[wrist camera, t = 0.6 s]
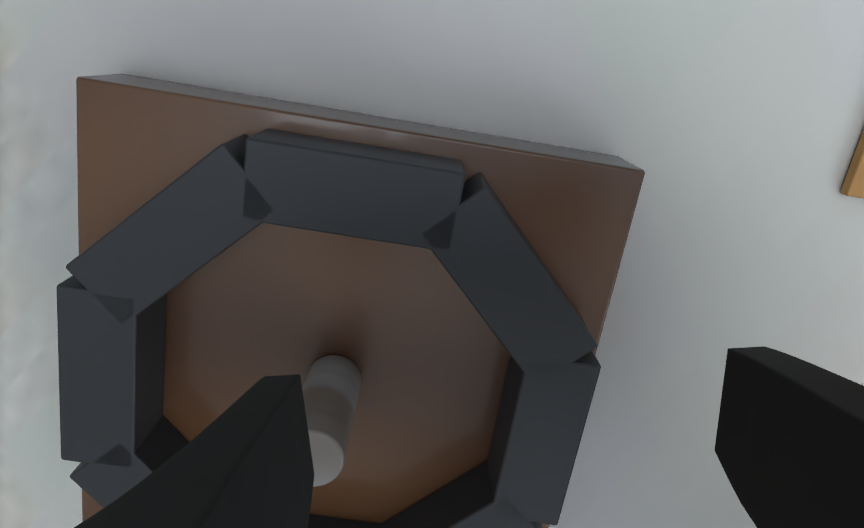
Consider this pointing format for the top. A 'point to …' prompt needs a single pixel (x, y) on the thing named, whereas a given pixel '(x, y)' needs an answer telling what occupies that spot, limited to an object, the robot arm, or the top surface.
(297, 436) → the robot arm
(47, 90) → the top surface
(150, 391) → the headband ring
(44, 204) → the top surface
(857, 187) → the mat
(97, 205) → the stand
